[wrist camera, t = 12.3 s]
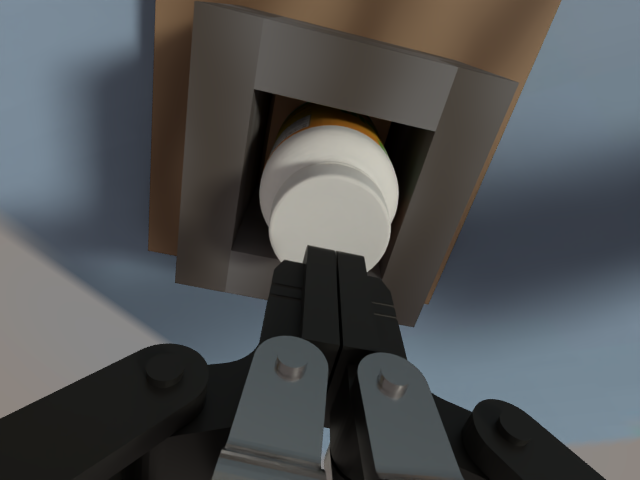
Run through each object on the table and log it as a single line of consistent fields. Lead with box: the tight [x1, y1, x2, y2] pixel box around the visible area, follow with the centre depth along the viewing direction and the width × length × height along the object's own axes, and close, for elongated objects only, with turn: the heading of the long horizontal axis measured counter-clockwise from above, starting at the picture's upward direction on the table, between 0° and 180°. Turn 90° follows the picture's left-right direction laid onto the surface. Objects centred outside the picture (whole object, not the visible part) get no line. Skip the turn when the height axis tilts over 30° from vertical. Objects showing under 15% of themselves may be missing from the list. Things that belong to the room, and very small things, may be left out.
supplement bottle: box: [259, 102, 399, 272], centre depth 18 cm, size 5×5×10 cm
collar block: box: [148, 0, 561, 327], centre depth 20 cm, size 19×19×10 cm
